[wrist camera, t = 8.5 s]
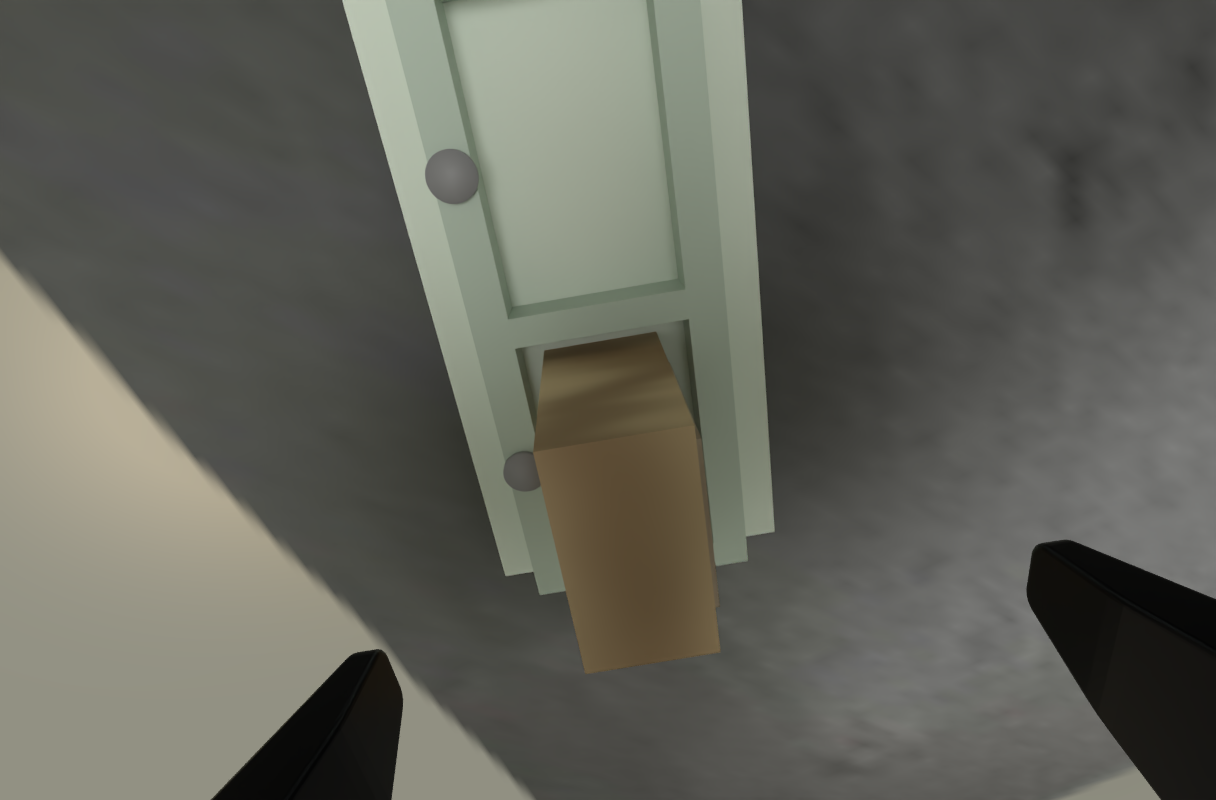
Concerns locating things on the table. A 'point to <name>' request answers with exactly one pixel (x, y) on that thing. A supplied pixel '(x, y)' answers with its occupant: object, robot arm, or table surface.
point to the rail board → (579, 222)
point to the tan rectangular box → (627, 503)
